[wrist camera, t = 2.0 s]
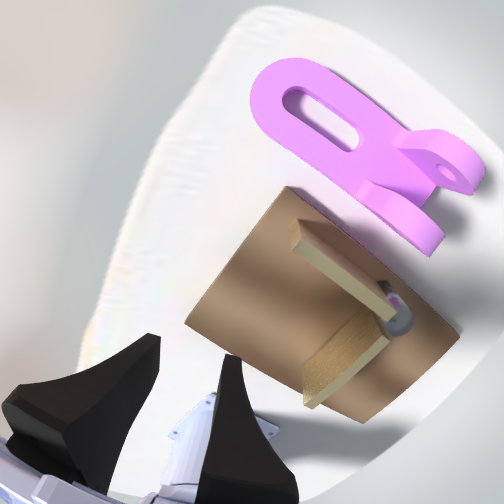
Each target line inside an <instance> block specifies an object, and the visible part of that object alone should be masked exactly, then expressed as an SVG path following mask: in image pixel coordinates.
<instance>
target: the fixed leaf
mask: <svg viewBox="0 0 504 504" xmlns="http://www.w3.org/2000/svg"><path fill="white" fill-rule="evenodd" d="M289 231H290V239H291V247H292V251H294V252H295V253H296V254H298V255H299V256H301V257H302V258H303V259H305V260H306V261H307V262H309V263H310V264H311V265H313V266H314V267H315V268H317V269H318V270H319V271H321V272H322V273H323V274H325V275H326V276H327V277H329V278H330V279H331V280H333V281H334V282H335V283H337V284H338V285H339V286H341V287H342V288H343V289H345V290H346V291H347V292H349V293H350V294H351V295H353V296H354V297H355V298H357V299H358V300H359V301H360V302H362V303H363V304H364V305H366V306H367V307H368V308H370V309H371V310H372V311H374V312H375V313H376V314H377V315H379V317H380V319H381V321H382V323H383V324H384V326H385V328H386V330H387V332H388V333H389V334H390V335H391V336H394V337H400V336H403V335H405V334H406V333H408V332H409V331H410V330H411V328H412V327H413V324H414V316H413V314H412V312H411V311H410V310H409V308H408V307H407V306H406V304H405V303H404V301H403V300H402V299H401V297H400V296H399V295H398V293H397V292H396V291H395V289H394V288H393V287H392V285H391V284H390V283H389V282H388V281H384V280H381V281H375V280H374V279H373V278H372V277H371V276H369V275H368V274H367V273H366V272H364V271H363V270H362V269H361V268H360V267H358V266H357V265H356V264H355V263H353V262H352V261H351V260H350V259H348V258H347V257H346V256H345V255H343V254H342V253H341V252H340V251H338V250H337V249H336V248H334V247H333V246H332V245H331V244H329V243H328V242H327V241H326V240H324V239H323V238H322V237H320V236H319V235H318V234H316V233H315V232H314V231H313V230H311V229H310V228H309V227H307V226H306V225H305V224H303V223H302V222H301V221H299V220H298V219H297V220H296V221H295V222H294V224H293V225H292V226H291V227H290V229H289Z"/></svg>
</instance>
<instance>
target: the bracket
mask: <svg viewBox="0 0 504 504" xmlns="http://www.w3.org/2000/svg"><path fill="white" fill-rule="evenodd" d="M292 90H300V91H303V92H304V93H306V94H307V95H309V96H310V97H312V98H313V99H315V100H316V101H318V102H319V103H321V104H322V105H324V106H325V107H326V108H328V109H329V110H331V111H332V112H333V113H335V114H336V115H338V116H339V117H340V118H342V119H343V120H344V121H346V122H347V123H348V124H350V125H351V126H352V127H354V128H355V129H356V131H357V133H358V135H359V143H358V145H357V147H356V148H355V149H354V150H353V151H351V152H345V151H343V150H341V149H340V148H339V147H337V146H336V145H335V144H333V143H332V142H331V141H329V140H328V139H326V138H325V137H324V136H322V135H321V134H319V133H318V132H317V131H315V130H314V129H312V128H311V127H310V126H308V125H307V124H305V123H304V122H302V121H301V120H299V119H298V118H296V117H295V116H293V115H292V114H290V113H289V112H287V111H286V110H285V108H284V107H283V104H282V99H283V97H284V95H285V94H286V93H288V92H289V91H292ZM250 106H251V111H252V114H253V117H254V119H255V121H256V123H257V124H258V125H259V127H260V128H261V130H262V131H263V132H264V133H265V134H266V135H267V136H269V137H270V138H271V139H273V140H274V141H276V142H277V143H279V144H280V145H282V146H283V147H285V148H286V149H288V150H289V151H291V152H292V153H294V154H295V155H297V156H298V157H299V158H301V159H302V160H304V161H305V162H306V163H308V164H309V165H311V166H312V167H313V168H315V169H316V170H318V171H319V172H320V173H322V174H323V175H324V176H326V177H327V178H329V179H330V180H331V181H333V182H334V183H335V184H337V185H338V186H339V187H341V188H342V189H343V190H344V191H346V192H347V193H348V194H350V195H351V196H352V197H353V198H355V199H356V200H357V201H359V202H360V203H361V204H362V205H364V206H365V207H366V208H367V209H369V210H370V211H371V212H372V213H373V214H375V215H376V216H377V217H378V218H380V219H381V220H382V221H383V222H384V223H386V224H387V225H388V226H389V227H390V228H391V229H393V230H394V231H395V232H396V233H398V234H399V235H400V236H402V237H403V238H404V239H406V240H407V241H408V242H409V243H411V244H412V245H413V246H415V247H416V248H417V249H418V250H420V251H421V252H422V253H423V254H425V255H426V256H427V257H429V258H430V256H431V255H432V254H433V252H434V251H435V250H436V248H437V247H438V245H439V244H440V243H441V241H442V240H443V238H444V237H445V234H444V233H443V231H442V230H441V229H440V228H439V226H438V225H437V224H436V223H435V222H434V221H433V220H432V219H431V218H429V217H428V216H427V215H426V214H425V213H424V212H423V211H422V210H420V209H421V208H422V206H423V205H424V203H425V202H426V200H427V199H428V198H429V196H430V195H431V193H432V192H433V190H434V189H435V187H436V186H439V187H442V188H446V189H449V190H452V191H456V192H459V193H462V194H466V195H473V193H474V192H475V190H476V188H477V187H478V185H479V183H480V182H481V180H482V178H483V177H484V175H485V173H486V169H485V166H484V164H483V162H482V160H481V159H480V157H479V156H478V155H477V154H476V152H475V151H474V150H473V149H472V148H471V147H470V146H468V145H467V144H466V143H465V142H464V141H462V140H461V139H459V138H458V137H456V136H455V135H453V134H451V133H449V132H447V131H444V130H440V129H431V130H421V131H408V130H406V129H405V128H403V127H402V126H401V125H400V124H399V123H397V122H396V121H395V120H394V119H393V118H392V117H390V116H389V115H388V114H387V113H386V112H384V111H383V110H382V109H381V108H379V107H378V106H377V105H376V104H374V103H373V102H372V101H371V100H369V99H368V98H367V97H366V96H364V95H363V94H362V93H360V92H359V91H358V90H356V89H355V88H354V87H352V86H351V85H349V84H348V83H347V82H345V81H344V80H342V79H341V78H340V77H338V76H337V75H335V74H334V73H332V72H331V71H329V70H328V69H326V68H325V67H323V66H322V65H320V64H318V63H316V62H314V61H311V60H307V59H302V58H288V59H283V60H279V61H277V62H274V63H272V64H271V65H269V66H268V67H266V68H265V69H264V70H263V71H262V72H261V73H260V74H259V75H258V77H257V78H256V80H255V81H254V84H253V86H252V89H251V94H250Z"/></svg>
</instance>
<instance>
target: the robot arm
mask: <svg viewBox="0 0 504 504" xmlns="http://www.w3.org/2000/svg"><path fill="white" fill-rule="evenodd" d="M160 343H161V337H160V336H157V335H153V334H150V333H147V334H145V335H144V336H142V337H141V338H140V339H138V340H137V341H135V342H134V343H132V344H131V345H129V346H128V347H126V348H125V349H123V350H122V351H120V352H119V353H117V354H115V355H114V356H112V357H110V358H108V359H107V360H105V361H103V362H101V363H99V364H97V365H95V366H93V367H91V368H89V369H87V370H84V371H82V372H79V373H76V374H73V375H70V376H67V377H64V378H60V379H56V380H51V381H46V382H41V383H33V384H20V385H18V386H17V387H16V389H14V390H13V391H12V393H11V394H10V395H9V396H8V397H7V398H6V399H5V401H4V402H3V403H2V411H3V414H4V416H5V418H6V420H7V422H8V424H9V425H10V427H11V429H12V431H13V435H12V436H11V437H10V439H9V440H8V441H7V440H6V439H5V438H3V437H2V436H0V498H1V499H3V500H4V501H5V502H6V503H8V504H125V503H122V502H120V501H117V500H115V499H112V498H110V497H108V496H107V492H108V489H109V485H110V482H111V479H112V475H113V472H114V469H115V466H116V463H117V461H118V458H119V455H120V452H121V450H122V447H123V444H124V442H125V439H126V437H127V434H128V432H129V430H130V428H131V426H132V424H133V422H134V420H135V418H136V416H137V415H138V413H139V411H140V409H141V408H142V406H143V404H144V402H145V400H146V399H147V397H148V395H149V393H150V391H151V390H152V388H153V385H154V383H155V380H156V378H157V375H158V373H159V365H160ZM209 401H210V402H209ZM278 433H279V427H277V426H275V425H273V424H271V423H269V422H267V421H264V420H262V419H260V418H258V417H256V416H255V415H254V413H253V410H252V407H251V405H250V402H249V399H248V395H247V392H246V388H245V384H244V379H243V373H242V359H241V358H240V357H238V356H234V355H229V354H225V358H224V361H223V365H222V370H221V375H220V379H219V384H218V389H217V394H216V395H214V394H208V395H207V396H206V397H205V398H204V399H203V400H202V401H201V402H200V403H199V404H198V405H197V406H196V407H194V408H193V409H192V410H191V411H190V412H189V413H188V414H187V415H186V416H185V417H184V418H183V419H182V420H181V421H180V422H178V423H177V424H176V425H175V426H174V427H173V428H172V429H171V430H170V431H169V432H168V434H167V435H168V437H170V438H171V439H173V440H174V443H173V446H172V449H171V452H170V455H169V457H168V460H167V463H166V466H165V469H164V472H163V475H162V478H161V489H160V492H159V493H155V492H152V493H150V494H148V495H147V496H145V497H144V498H142V499H141V500H140V502H139V503H138V504H298V503H299V492H298V487H297V483H296V479H295V476H294V474H293V473H292V472H291V471H290V470H289V469H288V468H287V467H286V465H285V464H284V463H283V462H282V461H281V459H280V458H279V457H278V455H277V454H276V453H275V451H274V450H273V448H272V447H271V445H270V443H269V442H268V440H269V439H270V438H272V437H273V436H275V435H276V434H278Z"/></svg>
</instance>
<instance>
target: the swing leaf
mask: <svg viewBox="0 0 504 504" xmlns="http://www.w3.org/2000/svg"><path fill="white" fill-rule="evenodd" d="M389 342H390V340H389V338H388V336H387V334H386V332H385V330H384V328H383V326H382V324H381V322H380V320H379V318H378V316H377V314H376V313H375V312H374V311H372V310H371V309H370V308H368V307H367V306H366V305H364V306H363V307H362V308H361V309H360V310H359V312H358V313H357V314H356V315H355V316H354V317H353V318H352V319H351V320H350V321H349V322H348V323H347V324H346V325H345V326H344V327H343V328H342V329H341V330H340V331H339V332H338V333H337V334H336V335H335V336H334V337H333V338H332V339H331V340H330V341H329V342H328V343H327V344H326V345H325V346H324V347H323V348H322V349H321V350H320V351H319V352H318V353H317V354H316V355H315V356H314V357H312V358H311V359H310V360H309V361H308V362H307V363H306V364H305V365H304V366H303V367H302V368H301V373H302V388H303V404H304V406H306V407H308V408H310V409H314V408H315V407H316V406H318V405H319V404H320V403H321V402H323V401H324V400H325V399H326V398H328V397H329V396H330V395H331V394H333V393H334V392H335V391H336V390H337V389H339V388H340V387H341V386H342V385H343V384H345V383H346V382H347V381H348V380H349V379H350V378H352V377H353V376H354V375H355V374H356V373H357V372H358V371H359V370H361V369H362V368H363V367H364V366H365V365H366V364H367V363H368V362H369V361H370V360H372V359H373V358H374V357H375V356H376V355H377V354H378V353H379V352H380V351H381V350H382V349H383V348H384V347H385V346H386V345H387V344H388V343H389Z"/></svg>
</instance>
